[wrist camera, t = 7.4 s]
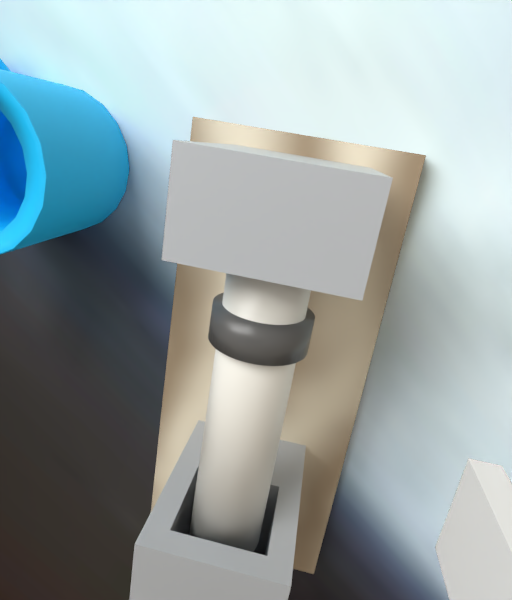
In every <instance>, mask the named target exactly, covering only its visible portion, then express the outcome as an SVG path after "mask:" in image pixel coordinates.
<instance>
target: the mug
mask: <svg viewBox="0 0 512 600" xmlns="http://www.w3.org/2000/svg"><path fill="white" fill-rule="evenodd" d="M128 175H129V161H128V152H127V145H126V143H125V140H124V138H123V135H122V133H121V131H120V128H119V126H118V123H117V122H116V121H115V120H114V118H113V117H112V116H111V114H110V113H109V112H108V111H107V109H106V108H105V107H104V105H103V104H101V103H100V102H99V101H97V100H96V99H94V98H93V97H92V96H90V95H89V94H87V93H86V92H84V91H83V90H79V89H76V88H73V87H69V86H66V85H62V84H58V83H54V82H50V81H46V80H42V79H38V78H34V77H30V76H26V75H22V74H18V73H14V72H11V71H10V70H9V69H8V67H7V66H6V65H5V64H4V63H3V61H2V60H1V59H0V255H1V254H4V253H7V252H11V251H14V250H17V249H20V248H24V247H27V246H30V245H33V244H37V243H40V242H43V241H46V240H50V239H53V238H56V237H60V236H63V235H66V234H69V233H73V232H76V231H79V230H82V229H85V228H88V227H90V226H93V225H96V224H98V223H101V222H102V221H103V220H105V219H106V218H107V217H108V216H109V215H110V214H111V213H112V212H113V211H115V210H116V208H117V206H118V204H119V203H120V201H121V199H122V197H123V195H124V193H125V191H126V186H127V181H128Z"/></svg>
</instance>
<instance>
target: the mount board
mask: <svg viewBox="0 0 512 600" xmlns="http://www.w3.org/2000/svg"><path fill="white" fill-rule="evenodd" d="M190 141H193V142H206V143H220V144H233V145H241V146H247V147H253V148H259V149H264V150H270V151H276V152H282V153H288V154H294V155H300V156H305V157H311V158H317V159H323V160H329V161H335V162H341V163H346V164H352V165H358V166H364V167H370V168H372V169H375V170H377V171H379V172H381V173H383V174H385V175H387V176H390V177H392V178H393V179H392V183H391V187H390V191H389V196H388V200H387V204H386V208H385V212H384V216H383V220H382V224H381V228H380V232H379V236H378V240H377V244H376V248H375V252H374V256H373V260H372V264H371V268H370V272H369V276H368V280H367V284H366V288H365V292H364V296H363V300H362V301H361V300H356V299H351V298H347V297H342V296H337V295H332V294H327V293H322V292H317V291H312V290H311V293H310V298H309V303H308V308H309V309H310V310H311V311H312V312H313V313H314V315H315V321H314V325H313V330H312V335H311V339H310V344H309V349H308V353H307V356H306V357H305V358H304V359H303V360H301V361H299V362H297V363H296V365H295V370H294V375H293V380H292V384H291V389H290V394H289V399H288V404H287V408H286V413H285V418H284V423H283V427H282V432H281V437H280V440H284V441H288V442H292V443H296V444H301V445H305V446H306V449H305V459H304V468H303V478H302V487H301V497H300V506H299V516H298V525H297V535H296V544H295V554H294V563H293V569H296V570H300V571H304V572H307V573H311V574H314V571H315V567H316V564H317V560H318V556H319V552H320V549H321V545H322V541H323V537H324V534H325V530H326V526H327V523H328V519H329V515H330V511H331V508H332V504H333V500H334V496H335V493H336V489H337V485H338V481H339V478H340V474H341V470H342V467H343V463H344V459H345V455H346V452H347V448H348V444H349V440H350V437H351V433H352V429H353V425H354V422H355V418H356V414H357V410H358V407H359V403H360V399H361V396H362V392H363V388H364V384H365V381H366V377H367V373H368V369H369V366H370V362H371V358H372V354H373V351H374V347H375V343H376V340H377V336H378V332H379V328H380V325H381V321H382V317H383V313H384V310H385V306H386V302H387V298H388V295H389V291H390V287H391V284H392V280H393V276H394V272H395V269H396V265H397V261H398V257H399V254H400V250H401V246H402V242H403V239H404V235H405V231H406V227H407V224H408V220H409V216H410V213H411V209H412V205H413V201H414V198H415V194H416V190H417V186H418V183H419V179H420V175H421V171H422V168H423V164H424V160H425V157H426V155H420V154H414V153H408V152H402V151H396V150H390V149H384V148H378V147H372V146H366V145H360V144H354V143H348V142H341V141H335V140H329V139H323V138H317V137H311V136H305V135H299V134H293V133H287V132H281V131H275V130H269V129H263V128H257V127H251V126H245V125H239V124H233V123H227V122H221V121H215V120H209V119H203V118H197V117H193V120H192V130H191V139H190ZM225 280H226V273H223V272H218V271H213V270H208V269H203V268H198V267H193V266H188V265H183V264H178V263H177V271H176V280H175V290H174V299H173V309H172V318H171V327H170V337H169V346H168V356H167V365H166V374H165V384H164V393H163V403H162V412H161V422H160V431H159V440H158V450H157V459H156V469H155V478H154V487H153V497H152V506H151V512H152V510H153V508H154V506H155V504H156V502H157V500H158V498H159V496H160V494H161V492H162V490H163V488H164V486H165V484H166V482H167V481H168V479H169V477H170V475H171V473H172V471H173V469H174V467H175V465H176V463H177V461H178V459H179V457H180V455H181V453H182V451H183V450H184V448H185V446H186V444H187V442H188V440H189V438H190V436H191V434H192V432H193V430H194V428H195V426H196V424H197V422H198V420H200V421H204V422H205V419H206V412H207V405H208V398H209V391H210V384H211V377H212V370H213V363H214V356H215V348H214V347H213V346H212V345H211V343H210V342H209V339H208V333H209V326H210V318H211V311H212V304H213V299H214V297H215V296H217V295H218V294H221V293H223V292H224V287H225Z"/></svg>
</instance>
